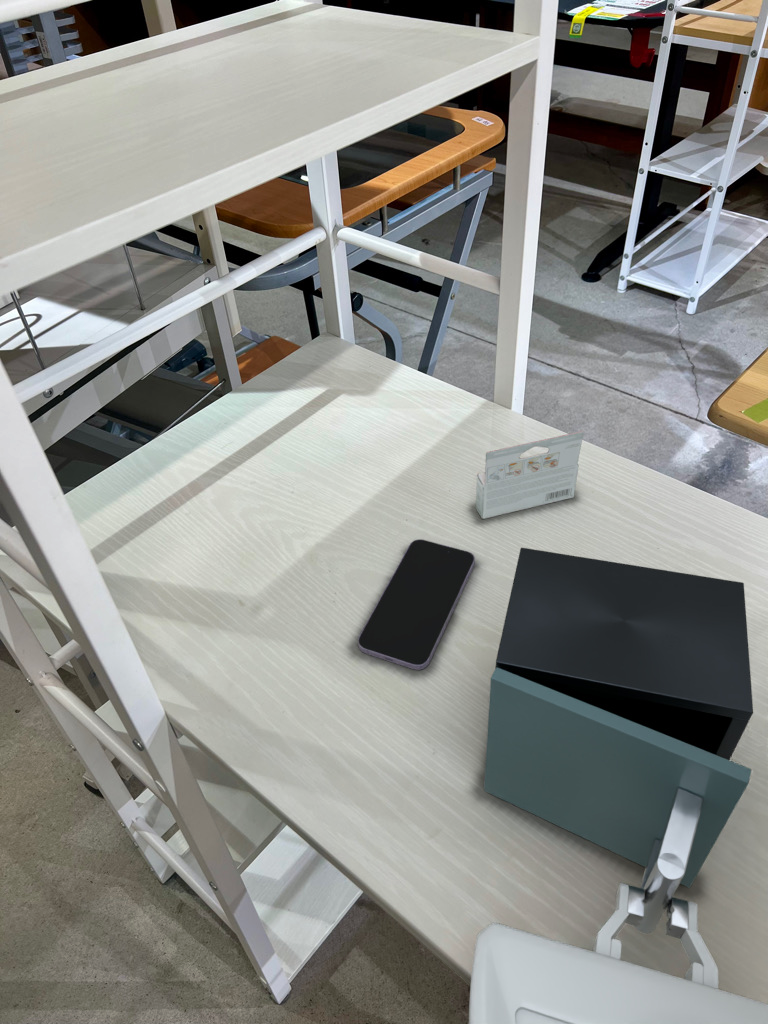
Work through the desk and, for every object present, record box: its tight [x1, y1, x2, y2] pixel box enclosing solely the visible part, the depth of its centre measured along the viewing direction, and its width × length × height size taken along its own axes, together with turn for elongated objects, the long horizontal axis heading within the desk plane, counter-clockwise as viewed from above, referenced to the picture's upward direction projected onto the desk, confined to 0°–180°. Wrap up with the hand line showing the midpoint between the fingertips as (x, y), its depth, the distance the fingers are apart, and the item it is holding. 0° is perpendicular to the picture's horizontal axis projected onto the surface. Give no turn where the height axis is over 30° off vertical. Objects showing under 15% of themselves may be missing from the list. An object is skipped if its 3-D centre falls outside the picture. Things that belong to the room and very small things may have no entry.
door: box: [483, 667, 752, 935], centre depth 50 cm, size 7×16×16 cm, turn 61°
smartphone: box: [357, 538, 476, 671], centre depth 74 cm, size 7×1×15 cm
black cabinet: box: [494, 547, 754, 761], centre depth 57 cm, size 11×16×16 cm
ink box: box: [475, 430, 585, 520], centre depth 81 cm, size 2×11×10 cm, turn 105°
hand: (655, 895), depth 46 cm, fingers closed on door, 2 cm apart
